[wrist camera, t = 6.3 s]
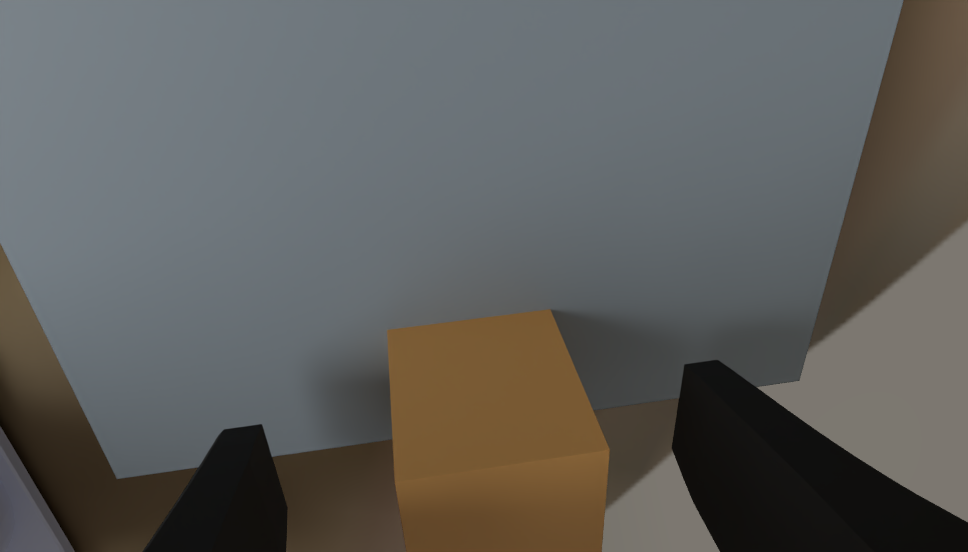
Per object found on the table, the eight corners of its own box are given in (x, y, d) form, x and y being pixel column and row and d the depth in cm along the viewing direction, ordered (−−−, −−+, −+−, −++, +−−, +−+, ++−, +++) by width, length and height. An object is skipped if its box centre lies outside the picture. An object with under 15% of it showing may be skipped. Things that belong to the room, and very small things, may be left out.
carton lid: (124, 459, 13) (43, 663, 10) (-265, -362, 7) (-886, -588, 3) (786, 366, 15) (913, 515, 11) (978, -379, 8) (1399, -547, 5)
